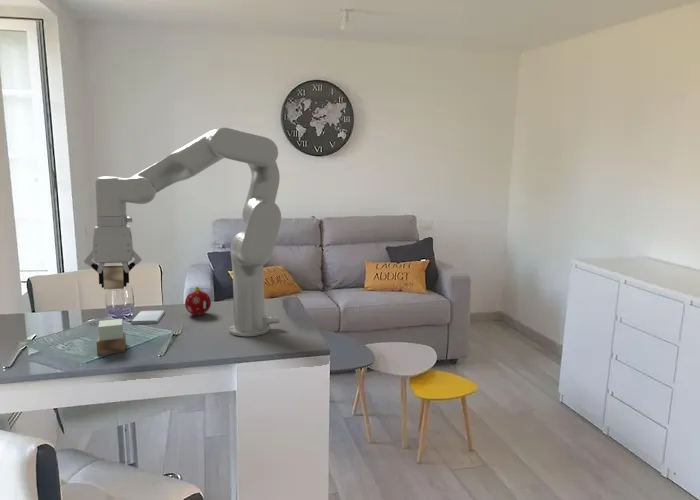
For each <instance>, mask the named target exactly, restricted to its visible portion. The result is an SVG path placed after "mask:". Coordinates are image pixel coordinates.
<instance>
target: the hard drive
mask: <svg viewBox="0 0 700 500" xmlns="http://www.w3.org/2000/svg"><path fill="white" fill-rule="evenodd" d="M164 315H165V310H164V309H163V310H141V311H139V313H138V314H137V315H136V316H135V317H134V318H133V319H132V321H131V322H130V325H145V324H146V325H151V324H153V325H155V324H158V323H159V322H160V320H161V318H162V317H163V316H164Z"/></svg>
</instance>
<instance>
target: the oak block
mask: <svg viewBox="0 0 700 500" xmlns="http://www.w3.org/2000/svg"><path fill="white" fill-rule="evenodd" d="M123 273H124V267H123V265H122V263H117V264H116V263H115V264H104V267H103V277H104V288H103V290H123V289H125V287H124V279H123Z"/></svg>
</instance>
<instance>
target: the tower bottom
mask: <svg viewBox="0 0 700 500" xmlns="http://www.w3.org/2000/svg"><path fill="white" fill-rule="evenodd" d="M126 346H127V339H126V331H123V338H122V339H112V340H103V341H99V334H98V336H97V339H96V352H97V356H98V355H99V356H100V355H109V354H117V353H118V354H119V353H125V352H126Z"/></svg>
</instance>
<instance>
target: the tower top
mask: <svg viewBox="0 0 700 500" xmlns="http://www.w3.org/2000/svg"><path fill="white" fill-rule="evenodd" d="M123 324H124V323H123V318H116V319H107V320H106V319H105V320H99V323H98V335H99V341H103V340H112V339H122V338H123V332H124V325H123Z"/></svg>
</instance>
